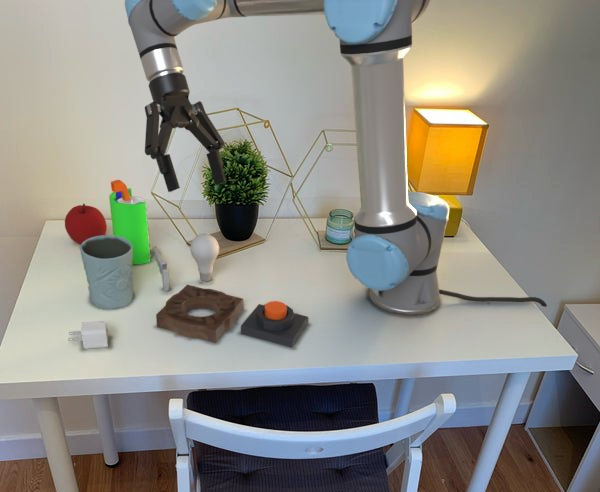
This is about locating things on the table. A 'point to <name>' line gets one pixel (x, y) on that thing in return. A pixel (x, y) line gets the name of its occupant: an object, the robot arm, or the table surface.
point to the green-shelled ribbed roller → (130, 220)
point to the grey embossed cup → (108, 270)
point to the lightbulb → (204, 254)
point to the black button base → (275, 327)
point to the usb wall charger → (92, 335)
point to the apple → (84, 223)
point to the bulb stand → (195, 326)
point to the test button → (275, 310)
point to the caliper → (162, 268)
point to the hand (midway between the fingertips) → (198, 186)
